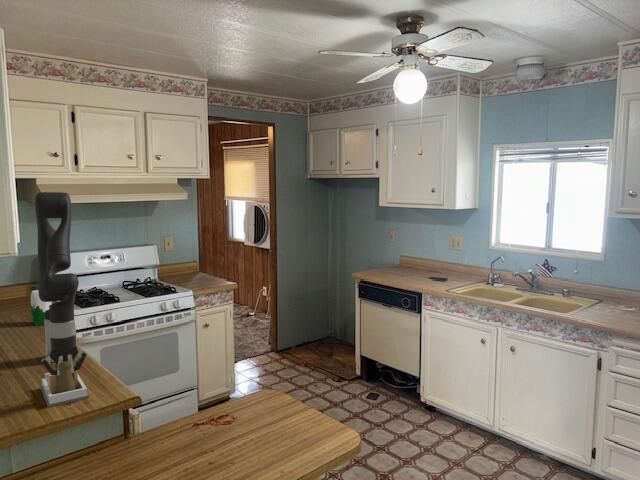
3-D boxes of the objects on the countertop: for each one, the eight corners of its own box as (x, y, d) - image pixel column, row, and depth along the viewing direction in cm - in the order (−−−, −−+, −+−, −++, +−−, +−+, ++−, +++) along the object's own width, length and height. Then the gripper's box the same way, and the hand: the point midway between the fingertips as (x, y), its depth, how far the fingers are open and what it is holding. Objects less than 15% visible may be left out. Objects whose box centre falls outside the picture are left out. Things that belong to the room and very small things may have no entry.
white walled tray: (40, 388, 168) (39, 374, 167) (78, 380, 175) (77, 367, 174) (47, 407, 153) (47, 392, 153) (88, 398, 160) (88, 383, 160)
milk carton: (31, 322, 247) (29, 284, 245) (51, 320, 252) (49, 282, 250) (32, 326, 240) (30, 287, 238) (53, 324, 245) (51, 285, 243)
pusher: (48, 390, 163) (47, 373, 163) (76, 384, 168) (75, 367, 168) (50, 393, 161) (49, 376, 160) (78, 387, 166) (77, 370, 165)
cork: (68, 395, 157) (66, 362, 156) (51, 394, 157) (49, 361, 156) (79, 387, 163) (78, 356, 162) (63, 387, 163) (61, 355, 162)
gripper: (83, 327, 165) (86, 376, 167) (37, 334, 157) (40, 385, 159) (88, 332, 159) (90, 383, 161) (40, 340, 151) (43, 393, 153)
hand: (65, 384), depth 160 cm, fingers closed on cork, 2 cm apart
